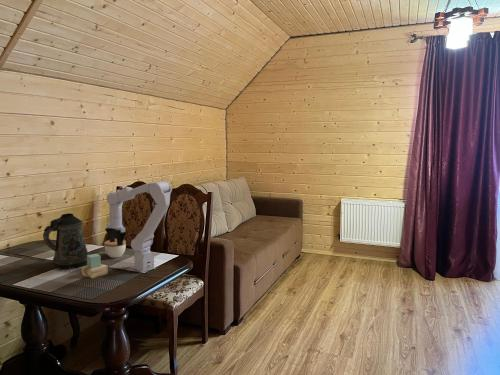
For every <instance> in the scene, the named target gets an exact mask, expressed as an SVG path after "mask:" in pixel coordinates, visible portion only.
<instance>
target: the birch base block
mask: <svg viewBox="0 0 500 375" xmlns="http://www.w3.org/2000/svg"><path fill="white" fill-rule="evenodd" d="M108 266H109V265H107V264H102V263H101V266H100V267H96V268H90V267H88V266H87V265H86V266H83V267H81V275H82V276H84V277H86V278H87V277H88V278H90V279H94V278H98V277H101V276H105V275H107V274H109V270H108Z"/></svg>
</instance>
